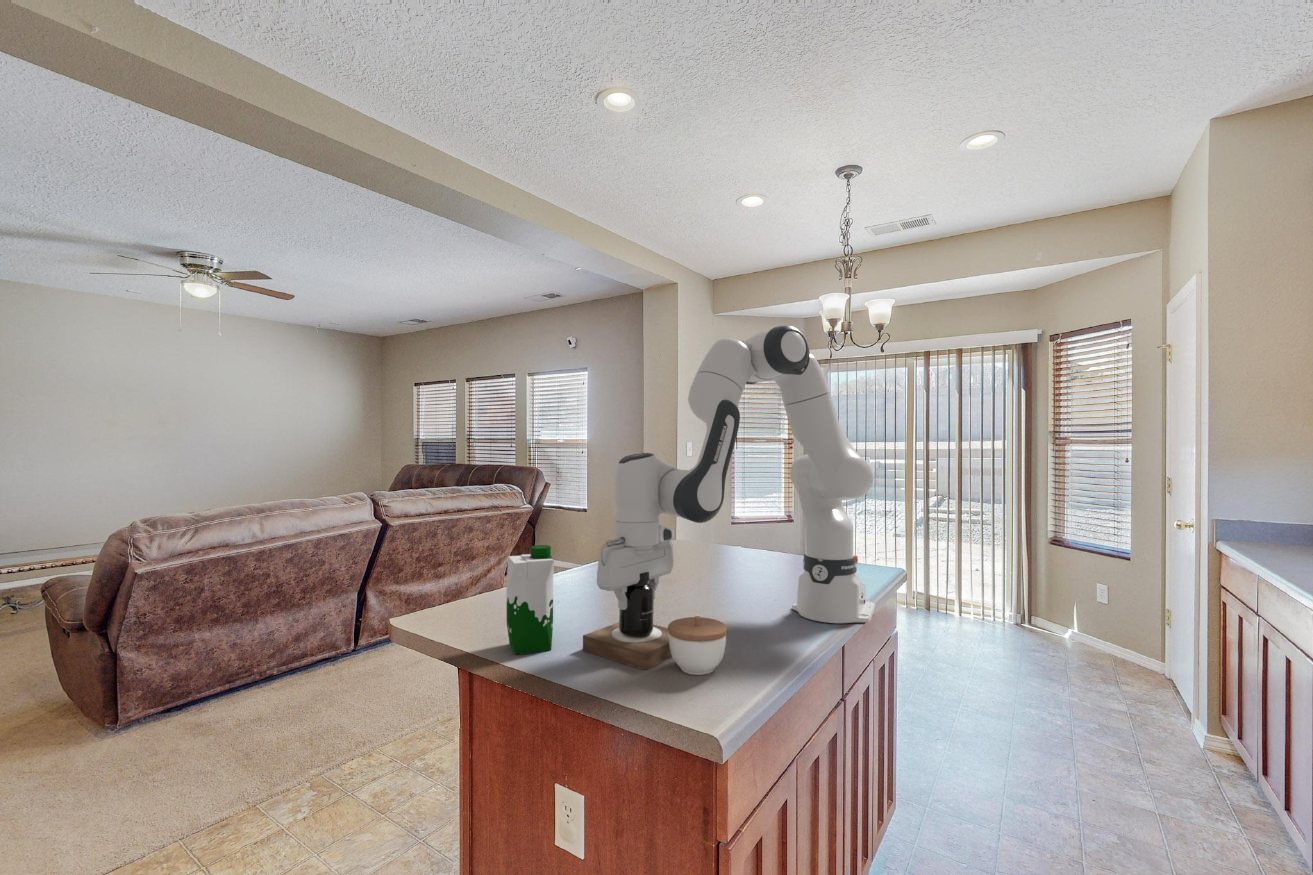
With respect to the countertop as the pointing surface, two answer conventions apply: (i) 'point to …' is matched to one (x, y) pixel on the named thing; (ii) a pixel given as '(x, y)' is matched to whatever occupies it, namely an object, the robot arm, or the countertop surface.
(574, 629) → the countertop surface
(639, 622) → the supplement bottle
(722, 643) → the lidded jar
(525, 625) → the milk carton
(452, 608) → the countertop surface
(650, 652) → the brown flat wooden block
